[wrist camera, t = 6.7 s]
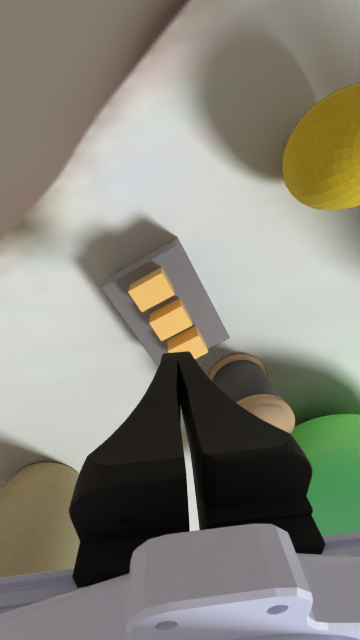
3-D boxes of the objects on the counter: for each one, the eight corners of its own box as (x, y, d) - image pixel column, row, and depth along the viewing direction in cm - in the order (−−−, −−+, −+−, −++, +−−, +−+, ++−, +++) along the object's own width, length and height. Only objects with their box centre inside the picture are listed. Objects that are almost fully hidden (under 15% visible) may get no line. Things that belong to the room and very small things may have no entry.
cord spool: (276, 364, 24) (309, 411, 19) (245, 406, 27) (268, 459, 21) (225, 345, 23) (247, 390, 18) (197, 390, 25) (209, 444, 20)
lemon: (257, 206, 18) (322, 213, 11) (270, 108, 16) (366, 35, 9) (331, 208, 19) (440, 216, 11) (355, 113, 16) (512, 47, 9)
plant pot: (70, 532, 34) (7, 780, 19) (-47, 491, 28) (-253, 792, 14) (145, 473, 30) (135, 730, 16) (26, 413, 24) (-155, 719, 10)
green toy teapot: (421, 403, 29) (648, 581, 15) (335, 494, 35) (443, 673, 22) (284, 366, 25) (432, 562, 12) (216, 476, 31) (260, 681, 18)
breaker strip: (108, 275, 20) (96, 296, 16) (177, 236, 19) (182, 247, 15) (160, 351, 23) (161, 384, 19) (221, 320, 22) (235, 348, 18)
